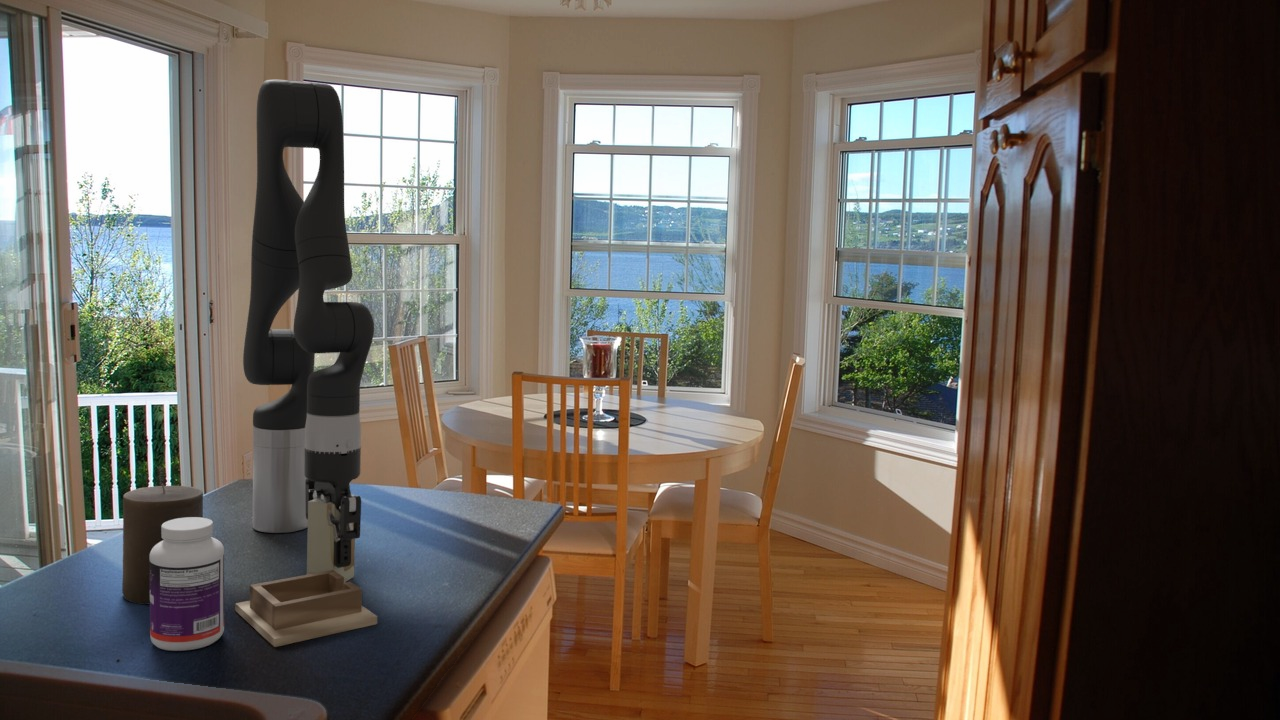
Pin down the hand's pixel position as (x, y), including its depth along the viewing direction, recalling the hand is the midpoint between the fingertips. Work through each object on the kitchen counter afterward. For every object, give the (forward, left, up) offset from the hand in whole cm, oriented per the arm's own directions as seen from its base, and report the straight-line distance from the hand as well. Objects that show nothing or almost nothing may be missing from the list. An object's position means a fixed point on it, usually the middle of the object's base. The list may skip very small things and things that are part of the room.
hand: (331, 558), depth 138 cm
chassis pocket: (+11, -8, -3) cm, 14 cm away
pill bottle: (+10, -22, -4) cm, 25 cm away
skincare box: (0, 0, -4) cm, 4 cm away
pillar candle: (-8, -20, -4) cm, 22 cm away
